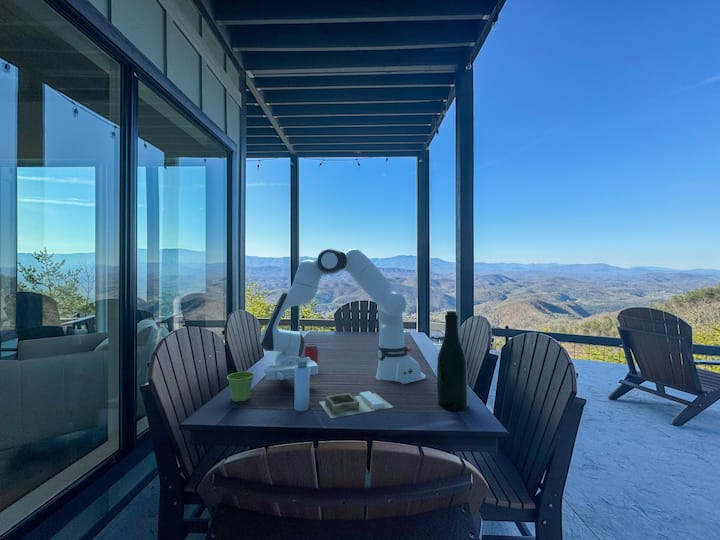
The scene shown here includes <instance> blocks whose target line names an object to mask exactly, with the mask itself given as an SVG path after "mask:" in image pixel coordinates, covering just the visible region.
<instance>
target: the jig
mask: <svg viewBox="0 0 720 540" xmlns="http://www.w3.org/2000/svg"><path fill="white" fill-rule="evenodd" d="M373 394H374V395H375V396H376V397H378V398H379V399H380V400H381V401H383V402H384V408H378V409H373V408H372V407H370V406H369V405H368V404H367V403H366V402H365V401H364V400H363V399H361V398H360V395H357V396H356V395H355V396H353V395H352V393H350V392H347V393H340V394H333V395H328V396H327V395H326V396H325V397H324V400H323V401H319V402H318V403H319V404H320V406H321V407H322V409H323V410H324V411H325V413H326V414H327V415H328V416H329V418H330V419H336V418H341V417H346V416H353V415H357V414H363V413H369V412H375V411H379V410H380V411H381V410H386V409H392V408H394V406H393V405H392V404H391V403H389V402H387V400H385V399H384V398H382V397H381V396H380V395H379V394H377V393H376V392H375V393H373Z"/></svg>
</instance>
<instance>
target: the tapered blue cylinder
mask: <svg viewBox="0 0 720 540" xmlns="http://www.w3.org/2000/svg"><path fill="white" fill-rule="evenodd" d="M293 404H294V407H293V408H294V411H296V412H306V411H308V410H309V409H310V377H309V366H308V365H307V361H306V360H299V361H298V366H296V367H295V377H294V403H293Z"/></svg>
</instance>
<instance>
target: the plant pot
mask: <svg viewBox="0 0 720 540" xmlns="http://www.w3.org/2000/svg"><path fill="white" fill-rule="evenodd" d="M254 376H255V373H254V372H252V371H239V372H238V371H237V372H234V373H230V374H229V375H227V376H226V379H227V381H228V383H229V389H230V396H231V401H233V402H237V403H238V402H245V401H248V400H250V397H251V396H250V395H251V390H252V383H253V379H254Z"/></svg>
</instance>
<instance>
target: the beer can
mask: <svg viewBox="0 0 720 540" xmlns="http://www.w3.org/2000/svg"><path fill="white" fill-rule="evenodd" d="M303 357H310V360H313V361H314V362H316V363H317V364H318V365H319V347H318V345H317V344H313V343H310V344H309V343H308V344H305V345H304V349H303Z"/></svg>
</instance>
